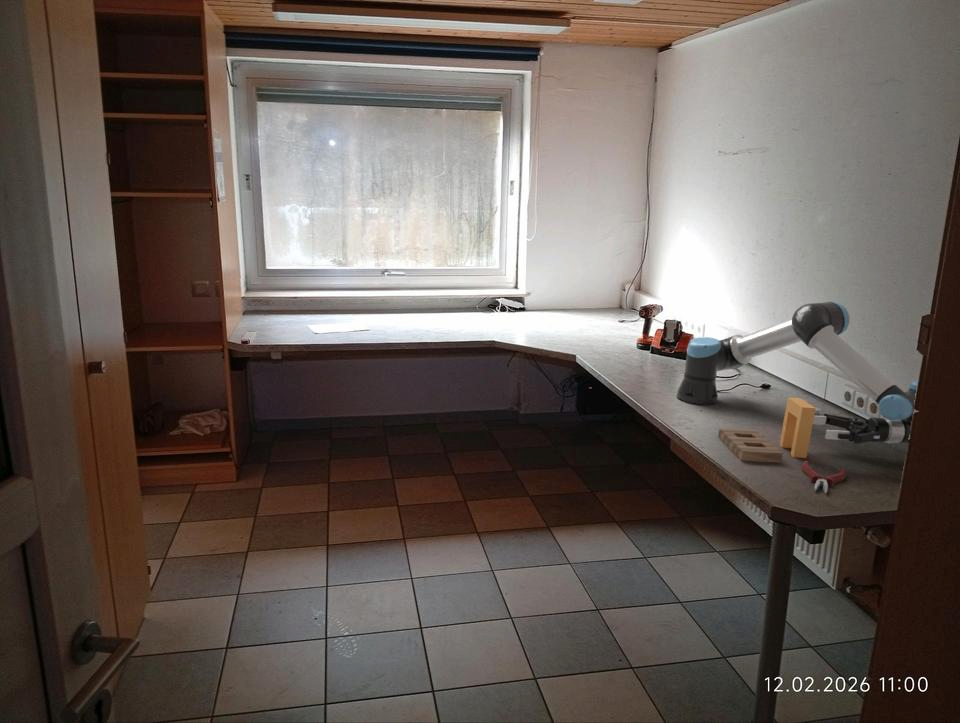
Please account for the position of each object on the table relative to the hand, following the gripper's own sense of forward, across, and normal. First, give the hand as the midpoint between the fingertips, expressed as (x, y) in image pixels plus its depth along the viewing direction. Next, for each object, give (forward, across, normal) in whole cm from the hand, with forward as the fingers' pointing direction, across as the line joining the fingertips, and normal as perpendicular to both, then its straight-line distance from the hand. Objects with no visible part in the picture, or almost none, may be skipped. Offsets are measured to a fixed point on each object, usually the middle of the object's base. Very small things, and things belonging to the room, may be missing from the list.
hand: (815, 426), depth 212 cm
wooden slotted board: (+19, +1, -9) cm, 21 cm away
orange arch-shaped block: (+5, +1, -9) cm, 10 cm away
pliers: (+8, -20, -10) cm, 24 cm away
